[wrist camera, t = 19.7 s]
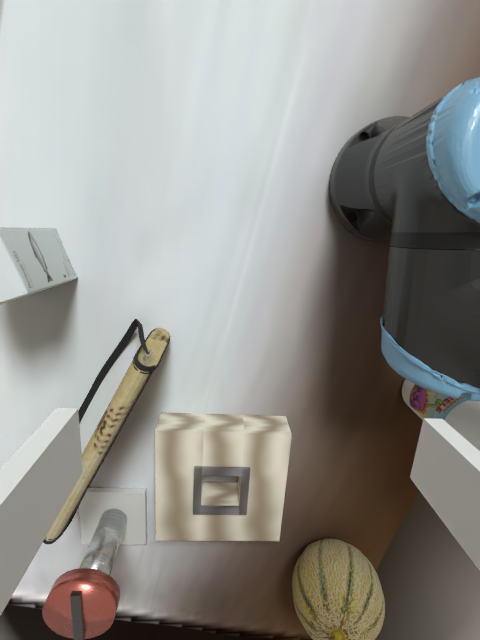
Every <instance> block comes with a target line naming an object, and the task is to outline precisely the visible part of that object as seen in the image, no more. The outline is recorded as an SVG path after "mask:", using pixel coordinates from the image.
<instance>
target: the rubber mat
mask: <svg viewBox="0 0 480 640" xmlns="http://www.w3.org/2000/svg"><path fill="white" fill-rule="evenodd" d="M108 509H119V510H121V511H123V512H124V513H125V514H126V516H127V523H126V526H125V529H124V532H123V535H122V538H121V542H120V545H146V542H147V496H146V488H88V490H87V491H86V493H85V495H84V497H83V499H82V501H81V503H80V505H79V519H80V531H81V543H82V544H90V541H91V539H92V537H93V534H94V532H95V530H96V527H97V525H98V522H99V520H100V518H101V515H102V514H103V512H104V511H106V510H108Z"/></svg>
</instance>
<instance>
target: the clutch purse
mask: <svg viewBox="0 0 480 640" xmlns="http://www.w3.org/2000/svg"><path fill="white" fill-rule="evenodd" d="M137 327H138V332H139V338H140V342H141V346H140V348H139V349H138V351H137V353H136V354H135V356H134V359H133V361H132V363H131V365H130V366H129V368H128V370H127V372H126V374H125V376H124V378H123V379H122V381H121V383H120V385H119V387H118V389H117V391H116V392H115V394H114V396H113V398H112V400H111V402H110V404H109V406H108V407H107V409H106V411H105V413H104V415H103V417H102V419H101V420H100V422H99V424H98V426H97V428H96V430H95V432H94V433H93V435H92V437H91V439H90V441H89V443H88V445H87V446H86V448H85V450H84V452H83V454H82V468H83V473H82V474H81V476H80V478H79V480H78V481H77V483H76V485H75V487H74V488H73V490H72V492H71V493H70V495H69V497H68V499H67V500H66V502H65V504H64V506H63V507H62V509H61V511H60V513H59V514H58V516H57V518H56V520H55V521H54V523H53V525H52V527H51V528H50V530H49V532H48V534H47V535H46V537H45V539H44V541H43V542H44V543H45V544H52V543H54V542H55V541H56V540H57V539H58V538H59V537H60V536H61V535H62V534H63V532H64V531H65V530H66V529H67V527H68V526H69V524H70V522H71V521H72V519H73V517H74V515H75V513H76V511H77V509H78V507H79V505H80V503H81V501H82V499H83V497H84V495H85V493H86V491H87V490H88V488H89V486H90V484H91V482H92V480H93V479H94V477H95V475H96V473H97V471H98V470H99V468H100V466H101V464H102V462H103V461H104V459H105V457H106V455H107V453H108V452H109V450H110V448H111V446H112V444H113V443H114V441H115V439H116V437H117V435H118V434H119V432H120V430H121V428H122V427H123V425H124V423H125V421H126V419H127V418H128V416H129V414H130V412H131V410H132V409H133V407H134V405H135V403H136V401H137V400H138V398H139V396H140V394H141V392H142V391H143V389H144V387H145V385H146V383H147V382H148V380H149V378H150V376H151V374H152V373H153V371H154V370H155V369H156V368H157V367H158V365H159V363H160V361H161V359H162V356H163V354H164V352H165V350H166V348H167V346H168V344H169V341H170V335H169V333H168V332H167V331H166V330H164V329H162V328H157V329H154V330H153V331H152V332H151V333H150V334H149V335H148V337H147V338H146V340H145V339H144V334H143V327H142V324H141V323H140V322H139V321H138V320H137V319H135V320H134V321H133V322H132V324H131V325H130V327H129V329H128V331H127V332H126V334H125V335H124V337H123V338H122V340H121V341H120V343H119V344H118V346H117V347H116V349H115V350H114V352H113V353H112V355H111V356H110V357H109V359H108V360H107V362H106V363H105V365H104V366H103V368H102V369H101V371H100V373H99V374H98V376H97V378H96V379H95V381H94V383H93V385H92V387H91V389H90V391H89V393H88V395H87V397H86V398H85V400H84V402H83V404H82V406H81V407H80V409H79V411H78V415H79V422H80V420H81V418H82V416H83V414H84V413H85V411H86V409H87V407H88V405H89V403H90V401H91V400H92V398H93V396H94V394H95V392H96V390H97V389H98V387H99V385H100V383H101V381H102V379H103V378H104V376H105V375H106V373H107V371H108V370H109V368H110V367H111V366H112V364H113V363H114V361H115V360H116V358H117V357H118V355H119V354H120V353H121V351H122V350H123V348H124V347H125V345H126V344H127V342H128V341H129V339H130V338H131V336H132V335H133V333H134V331H135V330H136V328H137Z"/></svg>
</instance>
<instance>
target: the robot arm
mask: <svg viewBox="0 0 480 640" xmlns="http://www.w3.org/2000/svg"><path fill="white" fill-rule="evenodd" d="M329 189H330V199H331V203H332V207H333V210H334V212H335V214H336V216H337V218H338V219H339V221H340V222H341V223H342V224H343V226H344V227H345V228H346V229H347V230H349V231H350V232H351V233H353V234H355V235H356V236H358V237H361V238H363V239H367V240H373V241H391V242H390V248H389V257H388V267H387V277H386V287H385V297H384V306H383V314H382V315H381V319H380V324H381V328H382V339H381V349H382V354H383V356H384V357H385V359H386V361H387V363H388V364H389V366H390V367H391V368H392V369H393V370H394V371H396V372H397V373H398V374H399V375H401V376H402V377H404V378H405V379H407V380H408V381H410V382H412V383H414V384H416V385H418V386H420V387H422V388H424V389H427V390H430V391H432V392H435V393H438V394H441V395H444V396H448V397H452V398H459V397H460V396H462V397H464V398H466V399H468V400H470V401H480V77H478V78H476V79H472V80H468V81H466V82H465V83H464V84H460V85H458V86H457V87H455V88H454V89H453V90H451V91H450V92H449V93H448V94H447V95H446V96H444V97H442V98H441V99H439V100H437V101H436V102H434V103H432V104H431V105H429V106H427V107H426V108H424V109H423V110H421V111H419V112H418V113H416V114H414V115H413V116H411V117H404V116H394V117H388V118H384V119H381V120H378V121H375V122H373V123H371V124H369V125H368V126H366V127H365V128H363V129H362V130H360V131H359V132H357V133H356V134H355V135H354V136H352V137H351V138H350V139H349V140H348V141H347V143H346V144H345V145H344V146H343V148H342V149H341V151H340V152H339V154H338V156H337V158H336V160H335V162H334V165H333V168H332V172H331V176H330V188H329ZM82 473H83V468H82V455H81V441H80V428H79V415H78V408H56V409H55V410H54V411H53V412H52V413H51V414H50V415H49V416H48V418H47V419H46V420H45V421H44V422H43V423H42V424H41V425H40V426H39V427H38V428H37V429H36V430H35V432H34V433H33V434H32V435H31V436H30V437H29V438H28V439H27V440H26V441H25V442H24V443H23V445H22V446H21V447H20V448H19V449H18V450H17V451H16V452H15V453H14V454H13V455H12V456H11V457H10V459H9V460H8V461H7V462H6V463H5V464H4V465H3V466H2V467H1V468H0V615H1V614H2V612H3V610H4V608H5V607H6V605H7V603H8V601H9V600H10V598H11V596H12V594H13V593H14V591H15V589H16V588H17V586H18V584H19V582H20V581H21V579H22V577H23V575H24V574H25V572H26V570H27V568H28V567H29V565H30V563H31V561H32V560H33V558H34V556H35V554H36V553H37V551H38V549H39V547H40V546H41V544H42V542H43V541H44V539H45V537H46V535H47V534H48V532H49V530H50V528H51V527H52V525H53V523H54V521H55V520H56V518H57V516H58V514H59V513H60V511H61V509H62V507H63V506H64V504H65V502H66V500H67V499H68V497H69V495H70V493H71V492H72V490H73V488H74V487H75V485H76V483H77V481H78V480H79V478H80V476H81V474H82ZM410 478H411V480H412V481H413V482H414V484H415V485H416V486H417V488H418V489H419V490H420V492H421V493H422V494H423V496H424V497H425V498H426V499H427V501H428V502H429V504H430V505H431V506H432V508H433V509H434V510H435V512H436V513H437V515H438V516H439V517H440V518H441V520H442V521H443V522H444V524H445V525H446V527H447V528H448V529H449V531H450V532H451V533H452V535H453V536H454V537H455V539H456V540H457V541H458V543H459V544H460V545H461V546H462V547H463V549H464V550H465V552H466V553H467V554H468V556H469V557H470V558H471V560H472V561H473V563H474V564H475V565H476V567H477V568H478V569H479V571H480V451H479V450H478V449H476V448H475V447H474V446H473V445H472V444H471V443H470V442H468V441H467V440H466V439H465V438H464V437H463V436H462V435H460V434H459V433H458V432H457V431H456V430H455V429H454V428H452V427H451V426H450V425H449V424H448V423H447V422H445V421H444V420H443V419H431V418H424V419H423V423H422V427H421V432H420V436H419V440H418V445H417V449H416V453H415V457H414V462H413V466H412V470H411V475H410Z"/></svg>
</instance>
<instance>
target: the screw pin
mask: <svg viewBox="0 0 480 640" xmlns="http://www.w3.org/2000/svg"><path fill="white" fill-rule="evenodd" d="M126 523H127V516H126V514H125V513H124V512H123V511H121V510H119V509H108V510H106V511H104V512H103V514H102V515H101V518H100V520H99V522H98V525H97V527H96V530H95V532H94V534H93V537H92V539H91V541H90V544H89V546H88V549H87V551H86V553H85V556H84V558H83V561H82V563H81V565H80V568H79V569H74V570H71V571H68V572H66V573H64V574H62V575H61V576H60V577H59V578H58V579H57V580H56V581H55V583H54V585H53V587H52V589H51V591H50V593H49V595H48V597H47V599H46V602H45V604H44V606H43V618H44V621H45V622H46V624H47V625H48V627H49V628H50V629H52V630H53V631H54V632H56V633H57V634H59V635H62V636H64V637H68V638H73V639H74V640H84V639H86V638H87V639H88V638H92V637H96V636H98V635H100V634H102V633H104V632H105V631H107V630H108V629H109V628H110V626H111V625H112V623H113V621H114V618H115V614H116V610H117V607H118V603H119V599H120V589H119V586H118V584H117V583H116V581H115V580H114V579H113V578H112V577H111V576H110V572H111V569H112V566H113V563H114V560H115V557H116V554H117V551H118V548H119V545H120V542H121V538H122V535H123V532H124V529H125V526H126Z"/></svg>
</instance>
